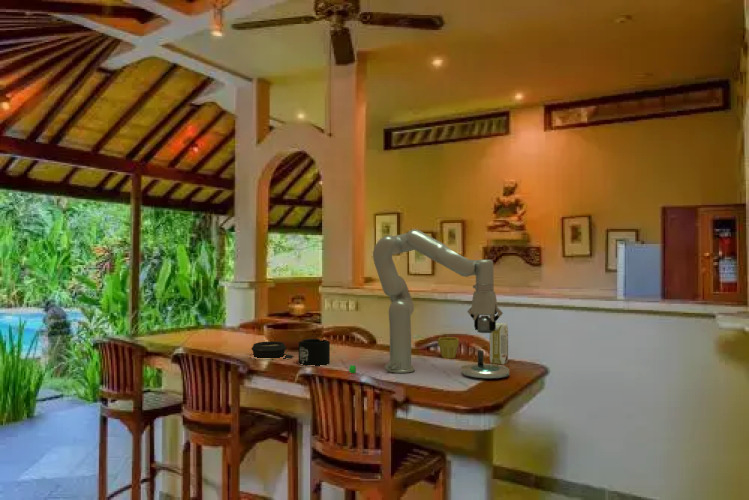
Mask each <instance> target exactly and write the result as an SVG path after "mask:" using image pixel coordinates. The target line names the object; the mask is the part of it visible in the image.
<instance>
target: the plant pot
mask: <svg viewBox="0 0 749 500" xmlns="http://www.w3.org/2000/svg"><path fill="white" fill-rule="evenodd" d="M459 341H460V340H459V338H458V337H450V336H449V337H448V336H447V337H439V338H437V346H439V349H440V356H441V358H443V359H444V358H445V359H454V358H456V356H457V355H456V354H457V349H458V347H459V345H460V344H459V343H460V342H459Z"/></svg>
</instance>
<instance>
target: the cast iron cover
mask: <svg viewBox="0 0 749 500" xmlns="http://www.w3.org/2000/svg"><path fill="white" fill-rule="evenodd" d="M490 322H491V318H490V315H480V316H479V317H478V318H477V330H476V331H477V333H480V334H490V333H492V332H493V331H491V330H490Z"/></svg>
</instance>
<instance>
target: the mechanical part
mask: <svg viewBox="0 0 749 500" xmlns="http://www.w3.org/2000/svg"><path fill="white" fill-rule="evenodd" d="M348 369H349V372H351V373H356V374H357V367H356V365H353V364H351V365H349V368H348ZM349 372H348V373H349Z"/></svg>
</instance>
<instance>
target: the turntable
mask: <svg viewBox="0 0 749 500" xmlns="http://www.w3.org/2000/svg"><path fill="white" fill-rule="evenodd" d="M461 374H462V375H464V376H467V377H470V378H471V377H472V378H477V379H486V378H490V379H500V378H507V377H508V376H510V368H509V367H506V366H505V365H501V364H493V363H484V350H481V349H480V350H477V363H472V364H471V363H470V364H466V365H462V366H461Z"/></svg>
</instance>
